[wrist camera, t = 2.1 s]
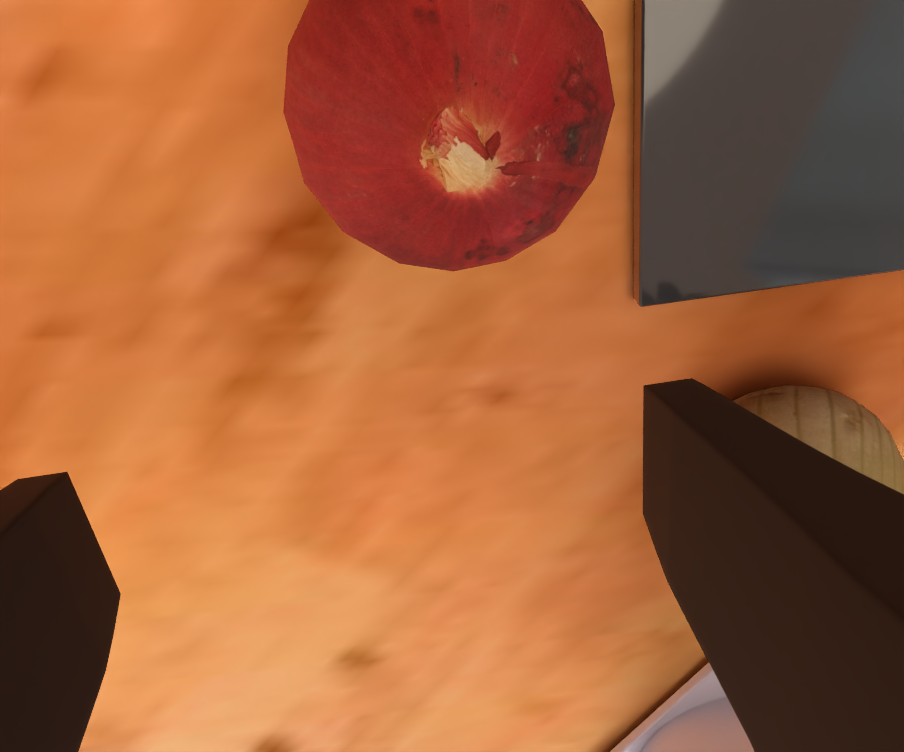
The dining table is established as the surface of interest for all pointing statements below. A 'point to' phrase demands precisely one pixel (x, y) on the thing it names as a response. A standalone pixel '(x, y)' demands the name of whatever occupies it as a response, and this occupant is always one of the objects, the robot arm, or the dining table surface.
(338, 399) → the dining table surface
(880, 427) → the fennel bulb
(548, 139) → the onion
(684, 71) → the slate board
